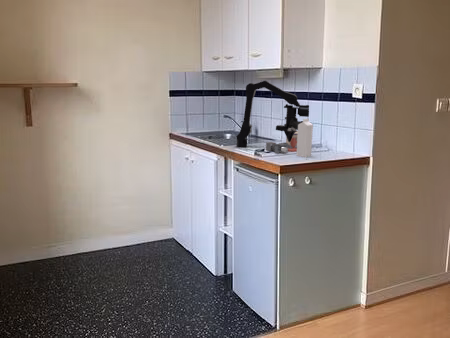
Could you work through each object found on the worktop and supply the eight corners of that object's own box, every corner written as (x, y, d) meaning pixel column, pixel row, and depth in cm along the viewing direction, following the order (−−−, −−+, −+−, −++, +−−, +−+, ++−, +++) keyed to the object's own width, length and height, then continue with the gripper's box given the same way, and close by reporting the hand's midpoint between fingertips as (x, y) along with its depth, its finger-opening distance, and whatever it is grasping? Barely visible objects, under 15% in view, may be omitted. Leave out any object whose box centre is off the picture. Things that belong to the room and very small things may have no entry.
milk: (310, 158, 259) (313, 118, 254) (305, 159, 254) (308, 119, 249) (301, 156, 262) (304, 117, 258) (295, 158, 258) (298, 118, 253)
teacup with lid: (290, 147, 291) (291, 129, 288) (282, 145, 299) (283, 127, 296) (306, 146, 296) (307, 128, 293) (298, 144, 304) (299, 126, 301)
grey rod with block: (265, 150, 273) (266, 142, 272) (271, 149, 275) (271, 141, 274) (283, 154, 261) (283, 146, 260) (288, 153, 263) (289, 145, 262)
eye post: (274, 153, 264) (274, 144, 263) (284, 152, 269) (285, 143, 267) (277, 154, 262) (277, 144, 261) (287, 152, 267) (288, 143, 266)
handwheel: (295, 152, 268) (295, 140, 266) (280, 150, 271) (281, 139, 270) (301, 149, 278) (302, 138, 276) (287, 147, 282) (287, 136, 280)
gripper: (288, 117, 263) (287, 145, 266) (312, 116, 274) (310, 143, 277) (275, 115, 272) (274, 142, 275) (298, 114, 282) (297, 140, 286)
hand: (289, 141), depth 278 cm, fingers closed
